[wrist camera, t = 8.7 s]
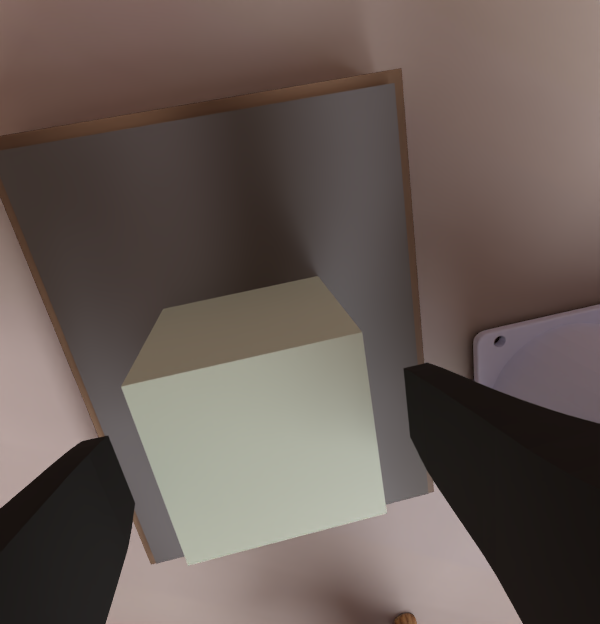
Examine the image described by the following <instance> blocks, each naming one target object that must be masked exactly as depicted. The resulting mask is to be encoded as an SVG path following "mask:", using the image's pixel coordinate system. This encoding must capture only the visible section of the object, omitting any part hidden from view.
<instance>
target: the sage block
mask: <svg viewBox="0 0 600 624" xmlns="http://www.w3.org/2000/svg"><path fill="white" fill-rule="evenodd" d="M121 388H122V391H123V393H124V396H125V399H126V401H127V404H128V407H129V409H130V412H131V415H132V417H133V420H134V423H135V425H136V428H137V431H138V433H139V436H140V439H141V441H142V444H143V447H144V449H145V452H146V455H147V457H148V460H149V463H150V465H151V468H152V471H153V473H154V476H155V479H156V481H157V484H158V487H159V489H160V492H161V495H162V497H163V500H164V503H165V505H166V508H167V511H168V513H169V516H170V519H171V521H172V524H173V527H174V529H175V532H176V535H177V537H178V540H179V543H180V545H181V548H182V551H183V553H184V556H185V559H186V561H187V564H188V566H189V565H193V564H196V563H200V562H204V561H208V560H212V559H215V558H219V557H223V556H227V555H231V554H234V553H238V552H242V551H246V550H250V549H253V548H257V547H261V546H265V545H269V544H272V543H276V542H280V541H284V540H288V539H291V538H295V537H299V536H303V535H307V534H310V533H314V532H318V531H322V530H326V529H329V528H333V527H337V526H341V525H345V524H348V523H352V522H356V521H360V520H364V519H367V518H371V517H375V516H379V515H383V514H387V511H386V503H385V496H384V489H383V481H382V474H381V467H380V459H379V452H378V445H377V437H376V430H375V423H374V415H373V408H372V400H371V393H370V386H369V378H368V371H367V364H366V356H365V349H364V342H363V334H362V331H361V330H360V329H359V327H358V326H357V325H356V324H355V322H354V321H353V320H352V319H351V317H350V316H349V315H348V314H347V312H346V311H345V310H344V309H343V307H342V306H341V305H340V303H339V302H338V301H337V300H336V298H335V297H334V296H333V295H332V293H331V292H330V291H329V290H328V288H327V287H326V286H325V284H324V283H323V282H322V281H321V279H320V278H319V277H318V276H316V277H311V278H306V279H301V280H297V281H292V282H287V283H283V284H278V285H273V286H269V287H264V288H259V289H254V290H250V291H245V292H240V293H236V294H231V295H226V296H221V297H217V298H212V299H207V300H203V301H198V302H193V303H189V304H184V305H179V306H174V307H170V308H165V309H163V310H162V312H161V314H160V316H159V317H158V319H157V321H156V323H155V325H154V327H153V328H152V330H151V332H150V334H149V336H148V338H147V340H146V341H145V343H144V345H143V347H142V349H141V351H140V352H139V354H138V356H137V358H136V360H135V362H134V364H133V365H132V367H131V369H130V371H129V373H128V375H127V376H126V378H125V380H124V382H123V384H122V386H121Z"/></svg>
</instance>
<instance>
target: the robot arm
mask: <svg viewBox="0 0 600 624" xmlns="http://www.w3.org/2000/svg"><path fill="white" fill-rule="evenodd" d="M499 336H500V339H499V341H498V342H497V343H495V344H494V341H495V339H496V338H497V337H499ZM473 355H474V381H473V380H470V379H468V378H465V377H463V376H460V375H458V374H456V373H453V372H451V371H448V370H446V369H443V368H441V367H438V366H435V365H433V364H429V363H424V364H419V365H415V366H411V367H406V368H403V369H404V379H405V390H406V400H407V410H408V420H409V431H410V438H411V440H412V442H413V444H414V446H415V448H416V450H417V452H418V454H419V456H420V458H421V460H422V462H423V464H424V466H425V468H426V470H427V472H428V473H429V475H430V476H431V478H432V479H433V481H434V482H435V484H436V485H437V487H438V488H439V490H440V491H441V493H442V494H443V496H444V497H445V499H446V500H447V502H448V503H449V505H450V506H451V508H452V509H453V511H454V512H455V514H456V515H457V517H458V518H459V519H460V521H461V522H462V524H463V525H464V527H465V528H466V530H467V531H468V533H469V534H470V536H471V537H472V539H473V540H474V542H475V543H476V545H477V546H478V547H479V549H480V550H481V552H482V553H483V555H484V556H485V558H486V560H487V561H488V563H489V564H490V566H491V568H492V569H493V571H494V572H495V574H496V576H497V577H498V579H499V581H500V583H501V585H502V586H503V588H504V590H505V592H506V594H507V596H508V597H509V599H510V601H511V603H512V605H513V606H514V608H515V610H516V612H517V614H518V615H519V617H520V619H521V621H522V623H523V624H600V304H598V305H594V306H589V307H585V308H581V309H576V310H572V311H567V312H563V313H559V314H554V315H550V316H545V317H541V318H536V319H532V320H528V321H523V322H519V323H514V324H510V325H506V326H501V327H497V328H492V329H488V330H484V331H481V332H479V333H478V334H477V335H476V336H475V338H474V341H473ZM134 508H135V501H134V499H133V496H132V494H131V491H130V489H129V486H128V484H127V481H126V479H125V476H124V474H123V471H122V469H121V466H120V464H119V461H118V459H117V456H116V454H115V451H114V449H113V446H112V444H111V441H110V439H109V436H103V437H99V438H95V439H90V440H86V441H82V442H80V443H79V444H77V445H76V446H75V447H73V448H72V449H71V450H69V451H68V452H67V453H65V454H64V455H63V456H62V457H61V458H59V459H58V460H57V461H56V462H54V463H53V464H52V465H51V466H50V467H49V468H47V469H46V470H45V471H44V472H43V473H42V474H40V475H39V476H38V477H37V478H36V479H34V480H33V481H32V482H31V483H30V484H29V485H27V486H26V487H25V488H24V489H23V490H22V491H20V492H19V493H18V494H17V495H16V496H15V497H13V498H12V499H11V500H10V501H9V502H8V503H6V504H5V505H4V506H3V507H2V508H0V624H105V623H106V620H107V617H108V613H109V610H110V607H111V604H112V600H113V597H114V594H115V590H116V587H117V584H118V580H119V577H120V574H121V570H122V567H123V563H124V560H125V556H126V553H127V549H128V545H129V540H130V534H131V529H132V522H133V515H134Z"/></svg>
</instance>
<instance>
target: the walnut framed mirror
mask: <svg viewBox="0 0 600 624" xmlns="http://www.w3.org/2000/svg"><path fill="white" fill-rule="evenodd" d="M0 198H1V200H2V202H3V205H4V207H5V210H6V212H7V215H8V217H9V219H10V222H11V224H12V227H13V229H14V232H15V234H16V237H17V239H18V241H19V244H20V246H21V249H22V251H23V254H24V256H25V258H26V261H27V263H28V266H29V268H30V271H31V273H32V276H33V278H34V280H35V283H36V285H37V288H38V290H39V293H40V295H41V297H42V300H43V302H44V305H45V307H46V310H47V312H48V315H49V317H50V319H51V322H52V324H53V327H54V329H55V332H56V334H57V336H58V339H59V341H60V344H61V346H62V349H63V351H64V354H65V356H66V358H67V361H68V363H69V366H70V368H71V371H72V373H73V375H74V378H75V380H76V383H77V385H78V388H79V390H80V393H81V395H82V397H83V400H84V402H85V405H86V407H87V410H88V412H89V414H90V417H91V419H92V422H93V424H94V427H95V429H96V432H97V434H98V436H99V437H103V436H109V439H110V441H111V444H112V446H113V449H114V451H115V454H116V456H117V459H118V461H119V464H120V466H121V469H122V471H123V474H124V476H125V479H126V481H127V484H128V486H129V489H130V491H131V494H132V496H133V499H134V501H135V508H134V515H133V522H134V524H135V527H136V529H137V531H138V534H139V536H140V539H141V541H142V544H143V546H144V548H145V551H146V553H147V556H148V558H149V561H150V563H151V564H155V563H156V564H157V563H161V562H164V561H168V560H172V559H176V558H180V557H184V553H183V551H182V548H181V545H180V543H179V540H178V537H177V535H176V532H175V529H174V527H173V524H172V521H171V519H170V516H169V513H168V511H167V508H166V505H165V503H164V500H163V497H162V495H161V492H160V489H159V487H158V484H157V481H156V479H155V476H154V473H153V471H152V468H151V465H150V463H149V460H148V457H147V455H146V452H145V449H144V447H143V444H142V441H141V439H140V436H139V433H138V431H137V428H136V425H135V423H134V420H133V417H132V415H131V412H130V409H129V407H128V404H127V401H126V399H125V396H124V393H123V391H122V388H121V386H122V384H123V382H124V380H125V378H126V376H127V375H128V373H129V371H130V369H131V367H132V365H133V364H134V362H135V360H136V358H137V356H138V354H139V352H140V351H141V349H142V347H143V345H144V343H145V341H146V340H147V338H148V336H149V334H150V332H151V330H152V328H153V327H154V325H155V323H156V321H157V319H158V317H159V316H160V314H161V312H162V310H163V309H165V308H170V307H174V306H179V305H184V304H189V303H193V302H198V301H203V300H207V299H212V298H217V297H221V296H226V295H231V294H236V293H240V292H245V291H250V290H254V289H259V288H264V287H269V286H273V285H278V284H283V283H287V282H292V281H297V280H301V279H306V278H311V277H316V276H318V277H319V278H320V279H321V281H322V282H323V283H324V284H325V286H326V287H327V288H328V290H329V291H330V292H331V293H332V295H333V296H334V297H335V298H336V300H337V301H338V302H339V303H340V305H341V306H342V307H343V309H344V310H345V311H346V312H347V314H348V315H349V316H350V317H351V319H352V320H353V321H354V322H355V324H356V325H357V326H358V327H359V329H360V330H361V331H362V334H363V342H364V349H365V356H366V364H367V371H368V378H369V386H370V393H371V400H372V408H373V415H374V423H375V430H376V437H377V445H378V452H379V459H380V467H381V474H382V481H383V489H384V496H385V503H386V504H390V503H394V502H398V501H401V500H405V499H409V498H413V497H417V496H421V495H425V494H428V493H431V492H434V487H433V479H432V478H431V476H430V475H429V473H428V472H427V470H426V468H425V466H424V464H423V462H422V460H421V458H420V456H419V454H418V452H417V450H416V448H415V446H414V444H413V442H412V440H411V438H410V431H409V420H408V410H407V400H406V390H405V379H404V369H403V368H406V367H411V366H415V365H419V364H424V357H423V343H422V330H421V317H420V304H419V291H418V278H417V265H416V252H415V239H414V226H413V213H412V200H411V187H410V174H409V161H408V148H407V135H406V122H405V109H404V96H403V83H402V70H401V68H400V69H394V70H388V71H382V72H376V73H370V74H364V75H358V76H352V77H346V78H341V79H335V80H329V81H323V82H317V83H311V84H305V85H299V86H293V87H287V88H281V89H275V90H270V91H264V92H258V93H252V94H246V95H240V96H234V97H228V98H222V99H216V100H210V101H204V102H198V103H193V104H187V105H181V106H175V107H169V108H163V109H157V110H151V111H145V112H139V113H133V114H127V115H122V116H116V117H110V118H104V119H98V120H92V121H86V122H80V123H74V124H68V125H62V126H56V127H50V128H45V129H39V130H33V131H27V132H21V133H15V134H9V135H3V136H0Z"/></svg>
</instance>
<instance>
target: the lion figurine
mask: <svg viewBox="0 0 600 624" xmlns="http://www.w3.org/2000/svg"><path fill="white" fill-rule="evenodd" d="M394 623H395V624H417V622H416V619H415V617H414V615H412V614H409V613H405V614H401V615H399V616H398V617H397V618H395V620H394Z"/></svg>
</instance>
